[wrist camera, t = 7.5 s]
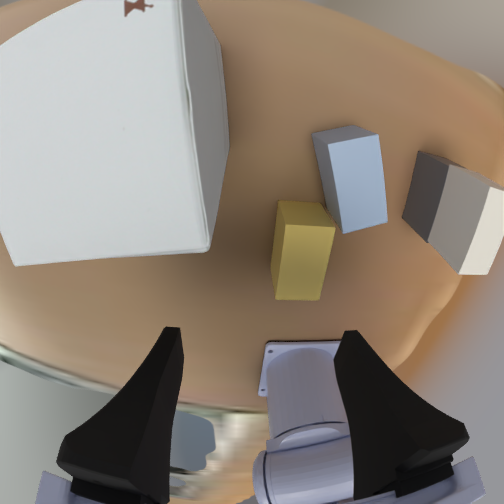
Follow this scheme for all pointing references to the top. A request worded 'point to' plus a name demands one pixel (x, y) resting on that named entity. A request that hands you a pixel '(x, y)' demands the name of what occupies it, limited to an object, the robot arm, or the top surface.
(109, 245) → the supplement box
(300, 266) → the mustard brick
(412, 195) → the charcoal brick
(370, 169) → the blue brick
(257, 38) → the top surface
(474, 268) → the light grey brick
